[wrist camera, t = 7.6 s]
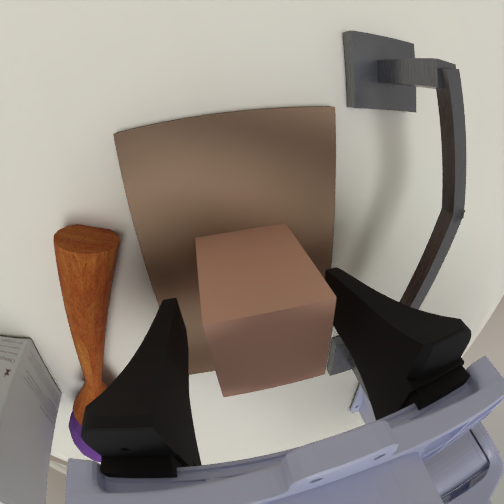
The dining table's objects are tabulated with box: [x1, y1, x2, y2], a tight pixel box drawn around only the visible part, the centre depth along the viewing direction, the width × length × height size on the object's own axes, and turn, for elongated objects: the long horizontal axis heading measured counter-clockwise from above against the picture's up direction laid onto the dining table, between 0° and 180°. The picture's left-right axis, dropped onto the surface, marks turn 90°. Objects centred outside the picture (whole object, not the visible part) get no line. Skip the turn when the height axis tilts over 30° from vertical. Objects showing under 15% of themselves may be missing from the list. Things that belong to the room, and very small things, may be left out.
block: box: [195, 223, 337, 397], centre depth 13 cm, size 4×4×6 cm
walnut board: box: [114, 106, 336, 375], centre depth 16 cm, size 16×10×1 cm, turn 5°
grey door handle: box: [327, 31, 466, 401], centre depth 15 cm, size 24×4×5 cm, turn 5°
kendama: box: [54, 225, 120, 462], centre depth 16 cm, size 6×6×20 cm
